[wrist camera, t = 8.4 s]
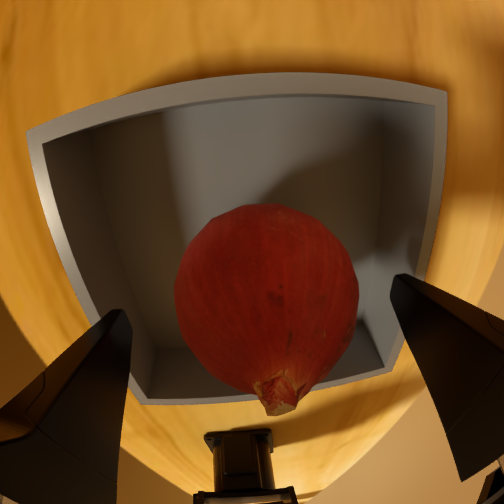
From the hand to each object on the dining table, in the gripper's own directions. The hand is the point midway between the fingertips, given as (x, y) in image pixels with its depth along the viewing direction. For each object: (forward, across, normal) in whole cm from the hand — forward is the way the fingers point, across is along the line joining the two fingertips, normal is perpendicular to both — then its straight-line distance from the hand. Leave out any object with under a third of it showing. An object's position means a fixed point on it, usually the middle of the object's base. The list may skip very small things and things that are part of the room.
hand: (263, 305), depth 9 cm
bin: (+5, 0, 0) cm, 5 cm away
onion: (+4, 0, 0) cm, 4 cm away
